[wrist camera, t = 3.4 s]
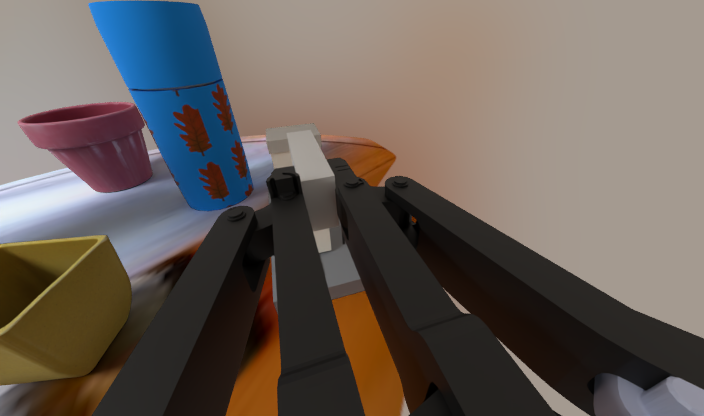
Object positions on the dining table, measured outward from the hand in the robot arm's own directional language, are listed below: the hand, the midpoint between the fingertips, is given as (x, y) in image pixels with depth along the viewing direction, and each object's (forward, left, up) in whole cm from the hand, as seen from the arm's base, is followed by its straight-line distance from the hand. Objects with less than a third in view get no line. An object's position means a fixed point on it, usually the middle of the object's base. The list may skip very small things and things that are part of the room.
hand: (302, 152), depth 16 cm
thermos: (-29, -1, -16) cm, 33 cm away
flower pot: (-11, -19, -16) cm, 27 cm away
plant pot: (-47, -13, -16) cm, 51 cm away
